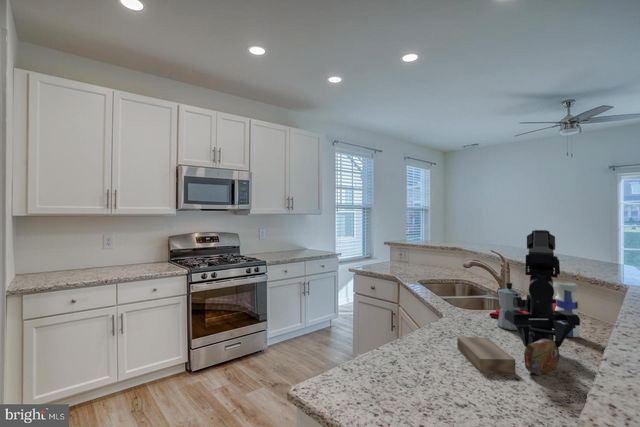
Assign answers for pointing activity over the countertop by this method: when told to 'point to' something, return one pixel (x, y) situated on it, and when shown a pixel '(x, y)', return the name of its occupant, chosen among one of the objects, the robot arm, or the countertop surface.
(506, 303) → the coffee maker
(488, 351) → the walnut plinth
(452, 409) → the countertop surface
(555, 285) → the water bottle
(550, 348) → the tin
